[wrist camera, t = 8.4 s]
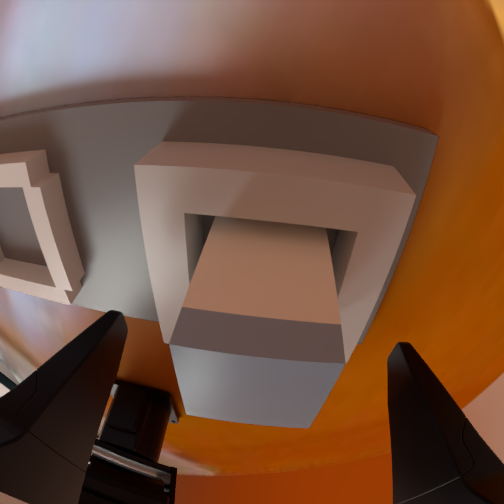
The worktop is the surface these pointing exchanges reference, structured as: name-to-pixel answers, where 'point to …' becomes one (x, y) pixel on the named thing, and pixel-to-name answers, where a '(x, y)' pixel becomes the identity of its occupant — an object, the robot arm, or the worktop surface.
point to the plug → (259, 325)
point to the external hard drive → (5, 384)
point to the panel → (134, 135)
